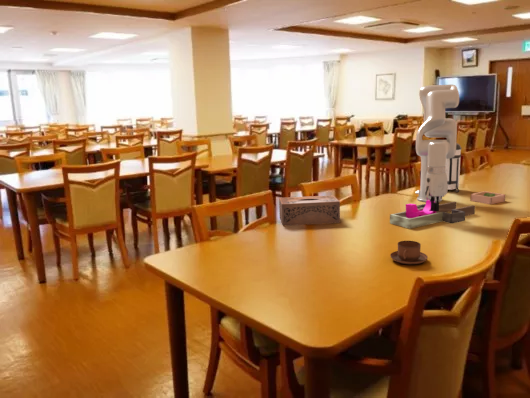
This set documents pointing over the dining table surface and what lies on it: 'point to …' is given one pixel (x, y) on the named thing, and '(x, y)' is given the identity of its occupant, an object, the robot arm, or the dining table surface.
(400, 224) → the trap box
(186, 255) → the dining table surface
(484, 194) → the seedling
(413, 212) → the toy block
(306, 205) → the tissue box cover
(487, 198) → the planter frame
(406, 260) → the cup and saucer
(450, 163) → the lantern
